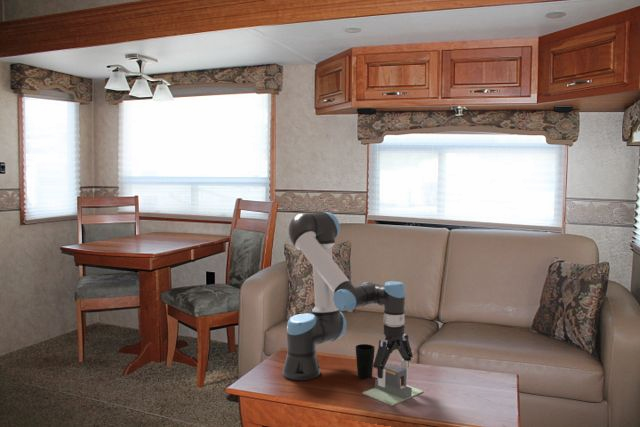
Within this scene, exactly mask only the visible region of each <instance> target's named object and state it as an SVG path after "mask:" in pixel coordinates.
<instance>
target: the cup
mask: <svg viewBox="0 0 640 427" xmlns="http://www.w3.org/2000/svg"><path fill="white" fill-rule="evenodd" d="M375 349H376V347H375V345H372V344H367V343H361V344H357V345H356V346H355V357H356V358H355V359H356V370H357V371H356V372H357V378H359V379H360V380H361V379H362V380H370V379H372V378H373V369H374V367H373V365H374V361H375Z"/></svg>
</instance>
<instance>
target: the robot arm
mask: <svg viewBox="0 0 640 427" xmlns="http://www.w3.org/2000/svg"><path fill="white" fill-rule="evenodd" d="M287 230H288V236H289V239H290V240H289V241H291V243H292V245H293V246H294V247H295V249H296V250H297V251H301V253H302V254H303V256H305V258H306V259H307V260H308V261H309V262H310V265H311V266H312V278H313V292H314V305H315V306H314V308H312V309H311V313H307V312H305V313H299V314H295V315H292V316H290V317H289V319H288V320H287V323H286V324H287V326H286V332H287V333H286V345H287V346H286V357H285V361H284V365H283V367H282V376H283V377H285V378H287V379H289V380H292V381H293V380H294V381H308V380H309V381H310V380H314V379H316V378H319V376H320V375H321V367H320V363H319V360H318V356H317V346H318V345H322V344H326V343H329V342H334V341H336V340H338V339H341V338H342V337H343V336H344V335H345V333H346V331H347V319H346V317H345V316H344V315H345V314H344V313H343V312H341V311H350V310H351V311H352V310H354V309H357V308H362V307H366V306H371V305H377V306H382V307H383V323H384V324H383V335H384V336H385V338H384V340H381V339H380V340H379V341H378V348H377V351H376V356H375V357H374V361H373V369H374V368H375V369H376V370H377V374H376V375H377V379H378V385H379V386H381V387H385V369H384V367H386V366H387V365H386V364H387V362H388V360H389V357H390V355H391V354H392V353H393V351H396V350H397V351H398V353H399V354H400V356H401V357H402V359H401V360H400V367H401V368H404V369H407V372H406V379H408V378H409V364H410V362H411V361H412V358H413V356H414V355H413V352H412V348H411V345H410V340H409V335H408V334H406V333H405V304H406V286H405V284H404V283H403V282H402V281H394V280H391V281H390V280H389V281H386V282H385V283H384V285H383V284H379V283H374V282H371V281H370V282H369V281H368V282H367V281H365V282H362V283H361V284H360V285H359V286H354V284H353V283H352V282H351V281H350V279H349V278H348V277H347V275H345V273H344V272H343V271H342V270H341V268H340V267H339V265H338V264H337V263H336V262H335V260H334V259H333V246H334V245H336V238H338V237H339V234H340V231H341V225H340V221H339V219H338V218H337V217H336V216H335V215H334V213H332V212H329V211H328V212H327V211H317V212H301V213H299V214H297V215H296V214H295V216H294V217H292V219H291V221H290V222H289V225H288V229H287Z"/></svg>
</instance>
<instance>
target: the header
mask: <svg viewBox="0 0 640 427" xmlns="http://www.w3.org/2000/svg"><path fill="white" fill-rule="evenodd" d="M374 381H375V382H374V384H375V386H374V387H373V388H371V389H367V390H365V391H363V392H362V395H366V396H368V397H370V398H372V399H375V400H377V401H380V402H381V403H385V404H387V405H388V406H395V405H396V404H399V403H402V402H404V401H406V400H408V399H411V398H412V397H415V396H417V395H420V394H422V393H424V390H421V389H420V388H416V387H413V386H411V385H408V384H406V386H402V385H401V378H400V388H398V389H396V388H394V387H391V386H389V385H386V384H385V387H381V386H379V385H378V378H377V379H375V380H374Z"/></svg>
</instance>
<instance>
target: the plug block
mask: <svg viewBox="0 0 640 427" xmlns="http://www.w3.org/2000/svg"><path fill="white" fill-rule="evenodd" d="M384 369H385V384H386V385H389V386H391V387H394V388H396V389H398V388H400V378H401V385H402V386H406V385H407V378H406V372H407V369H404V368H401V366H397V365H395V364H389V365H385V367H384Z"/></svg>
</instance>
